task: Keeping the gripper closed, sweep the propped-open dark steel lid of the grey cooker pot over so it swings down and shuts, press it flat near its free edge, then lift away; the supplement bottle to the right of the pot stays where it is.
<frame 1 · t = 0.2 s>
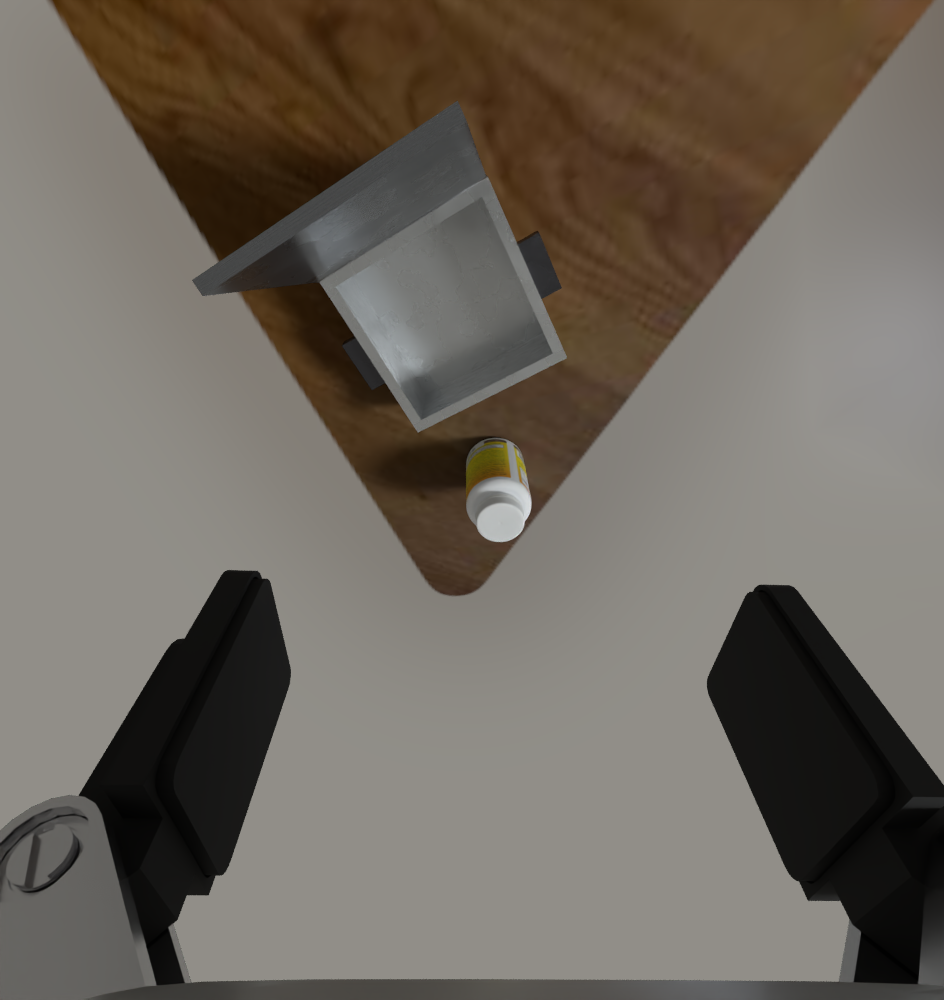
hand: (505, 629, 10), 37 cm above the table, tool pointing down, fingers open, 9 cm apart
lid: (363, 212, 27), point 13 cm above the table, hinge at 100.0°
supplement bottle: (494, 459, 51), on the table
cooker pot: (450, 301, 42), on the table
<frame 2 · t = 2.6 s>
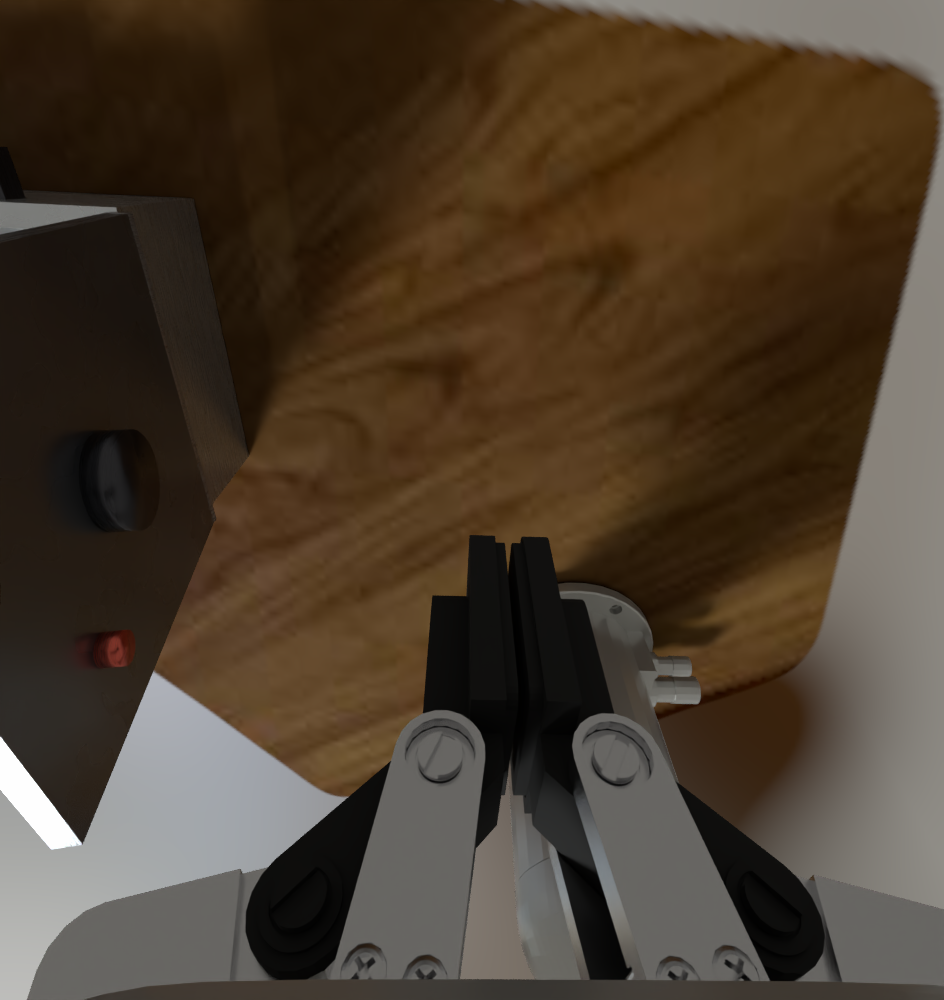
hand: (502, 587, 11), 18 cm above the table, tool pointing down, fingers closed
lid: (113, 476, 15), point 13 cm above the table, hinge at 100.0°
cooker pot: (96, 338, 26), on the table
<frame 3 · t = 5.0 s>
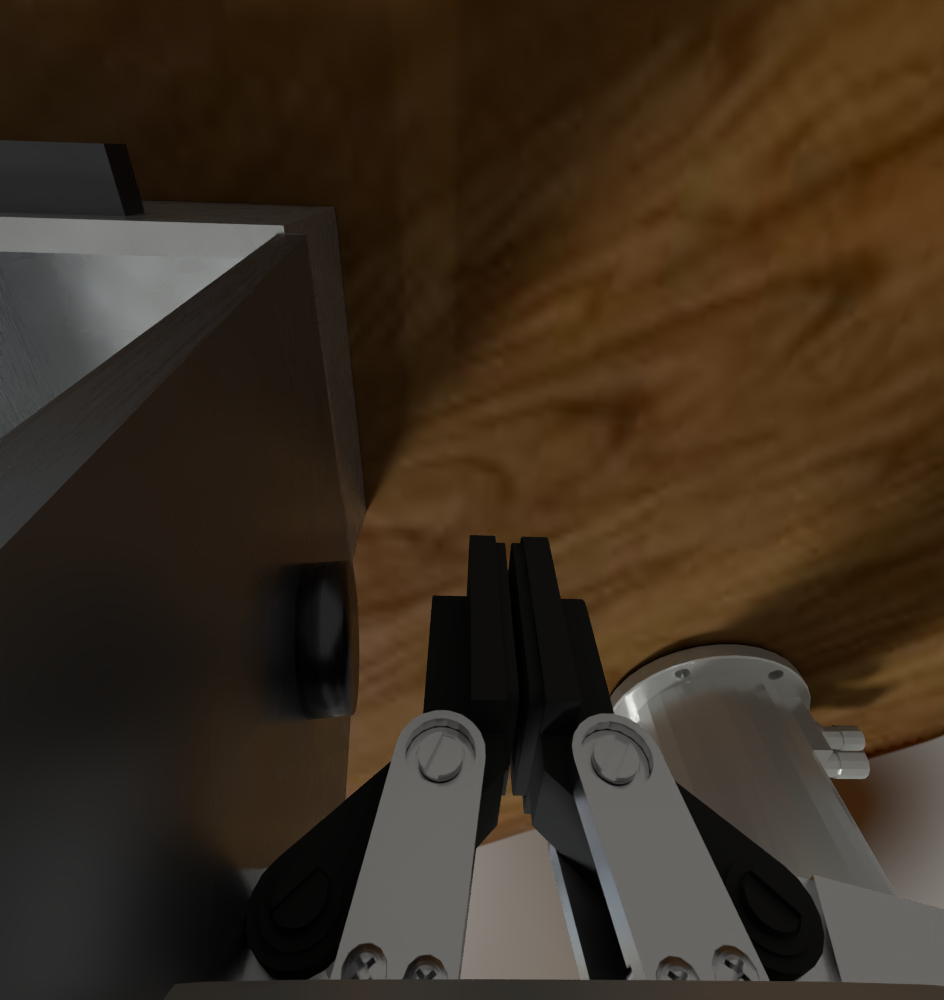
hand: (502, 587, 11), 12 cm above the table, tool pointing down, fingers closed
lid: (313, 627, 11), point 13 cm above the table, hinge at 97.7°, touching gripper
cooker pot: (196, 380, 22), on the table
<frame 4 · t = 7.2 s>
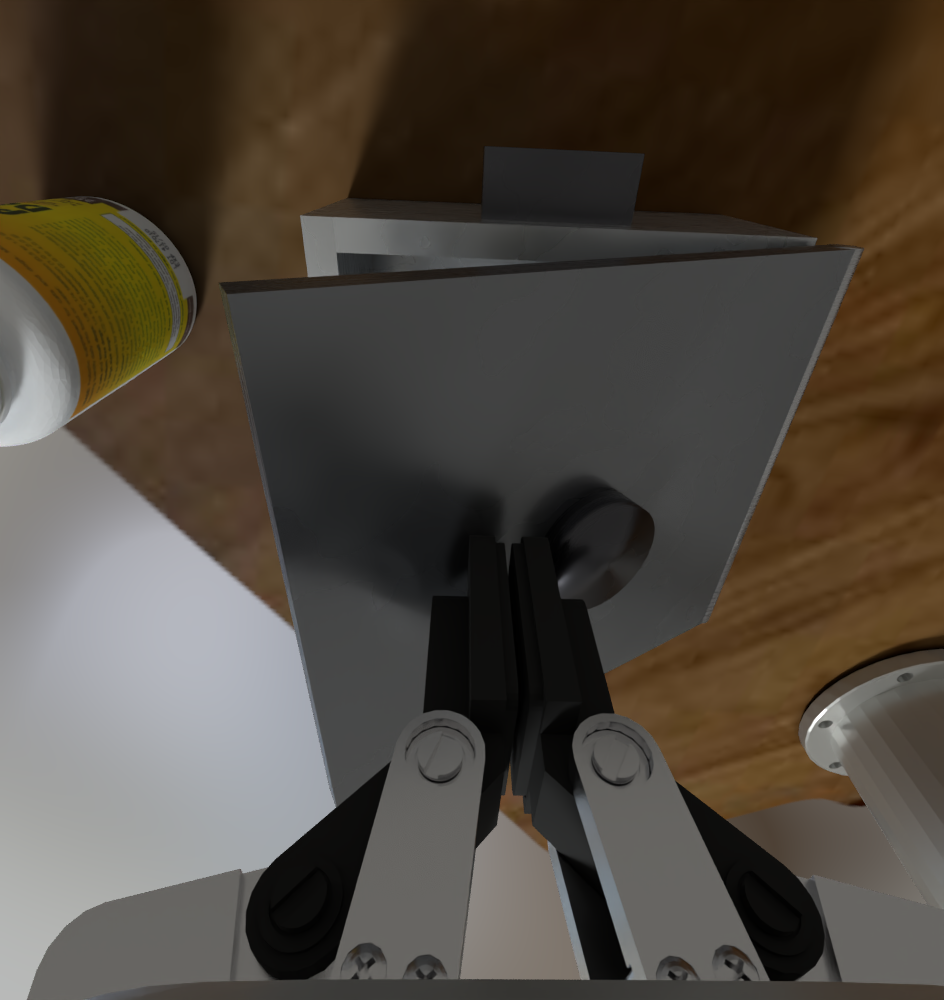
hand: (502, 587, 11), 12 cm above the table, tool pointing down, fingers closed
lid: (595, 539, 13), point 10 cm above the table, hinge at 29.3°, touching gripper
supplement bottle: (127, 279, 19), on the table
cooker pot: (519, 385, 22), on the table
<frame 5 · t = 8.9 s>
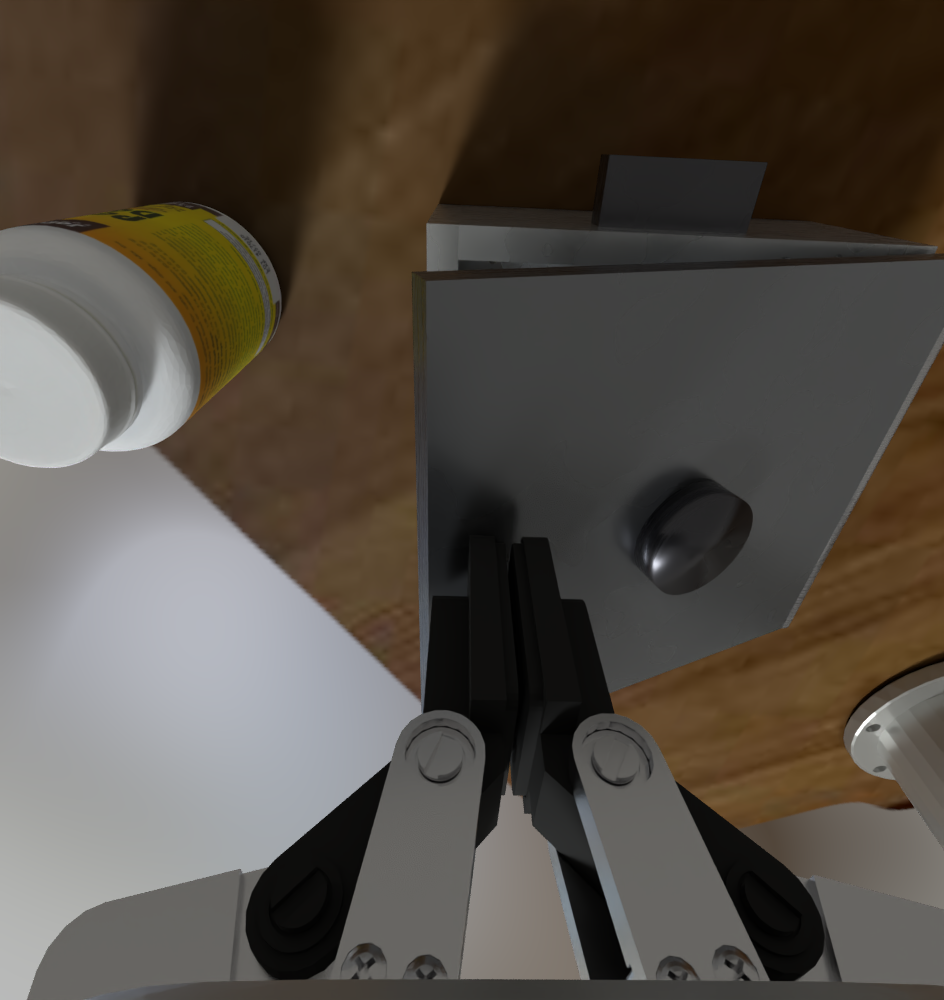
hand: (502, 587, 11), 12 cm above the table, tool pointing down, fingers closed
lid: (691, 528, 14), point 10 cm above the table, hinge at 22.6°, touching gripper
supplement bottle: (212, 284, 19), on the table
cooker pot: (593, 389, 22), on the table
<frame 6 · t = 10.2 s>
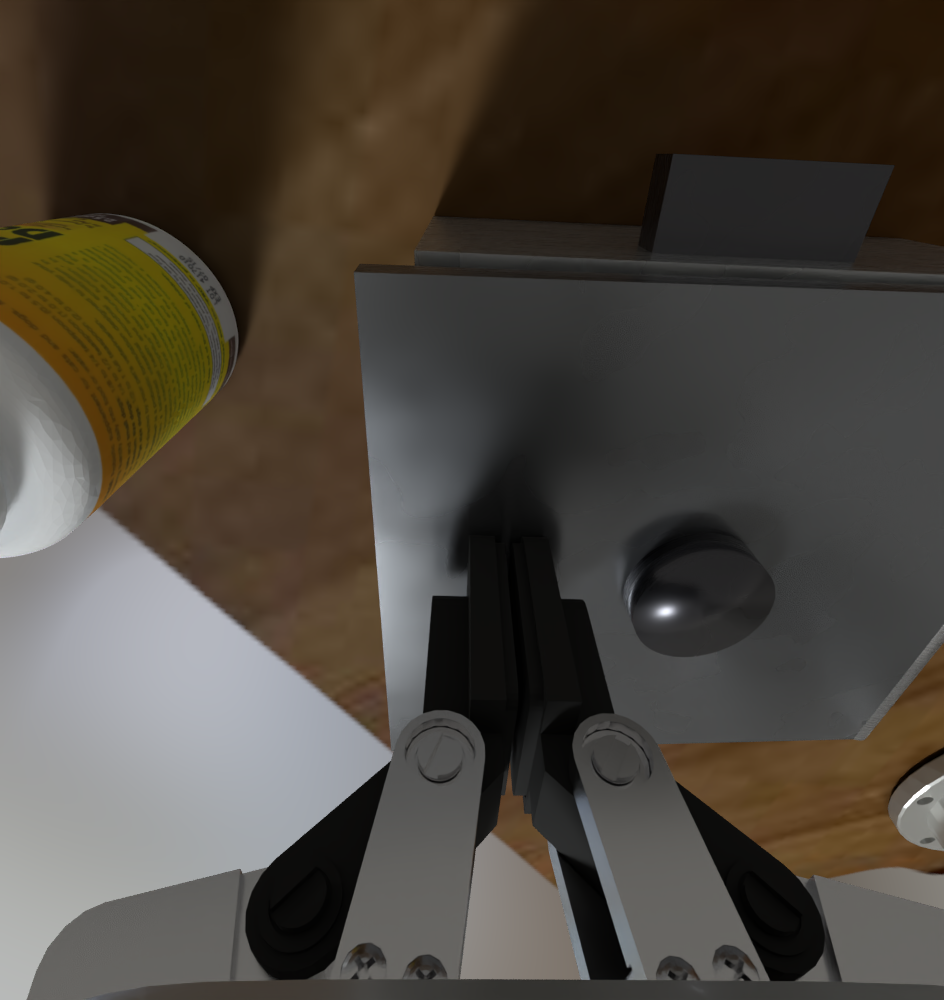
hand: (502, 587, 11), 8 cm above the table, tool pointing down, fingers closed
lid: (702, 586, 12), point 7 cm above the table, hinge at 2.6°, touching gripper
supplement bottle: (152, 314, 16), on the table
cooker pot: (622, 439, 18), on the table
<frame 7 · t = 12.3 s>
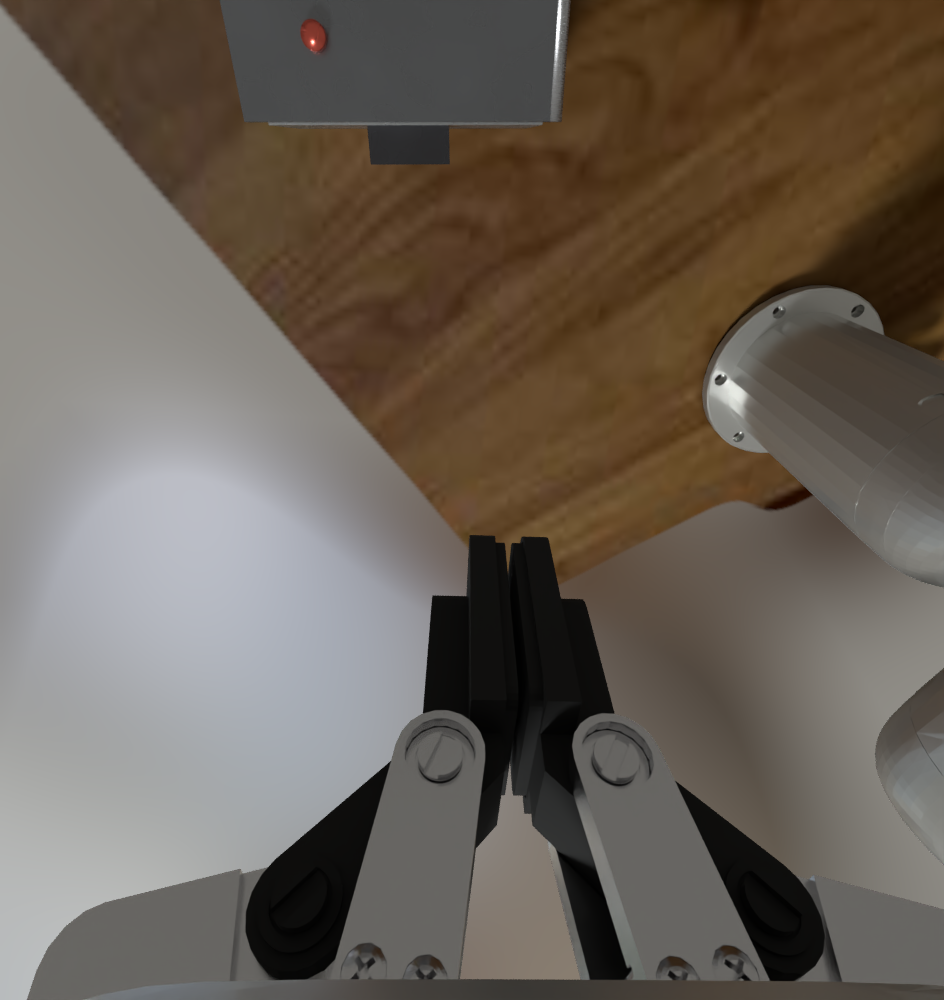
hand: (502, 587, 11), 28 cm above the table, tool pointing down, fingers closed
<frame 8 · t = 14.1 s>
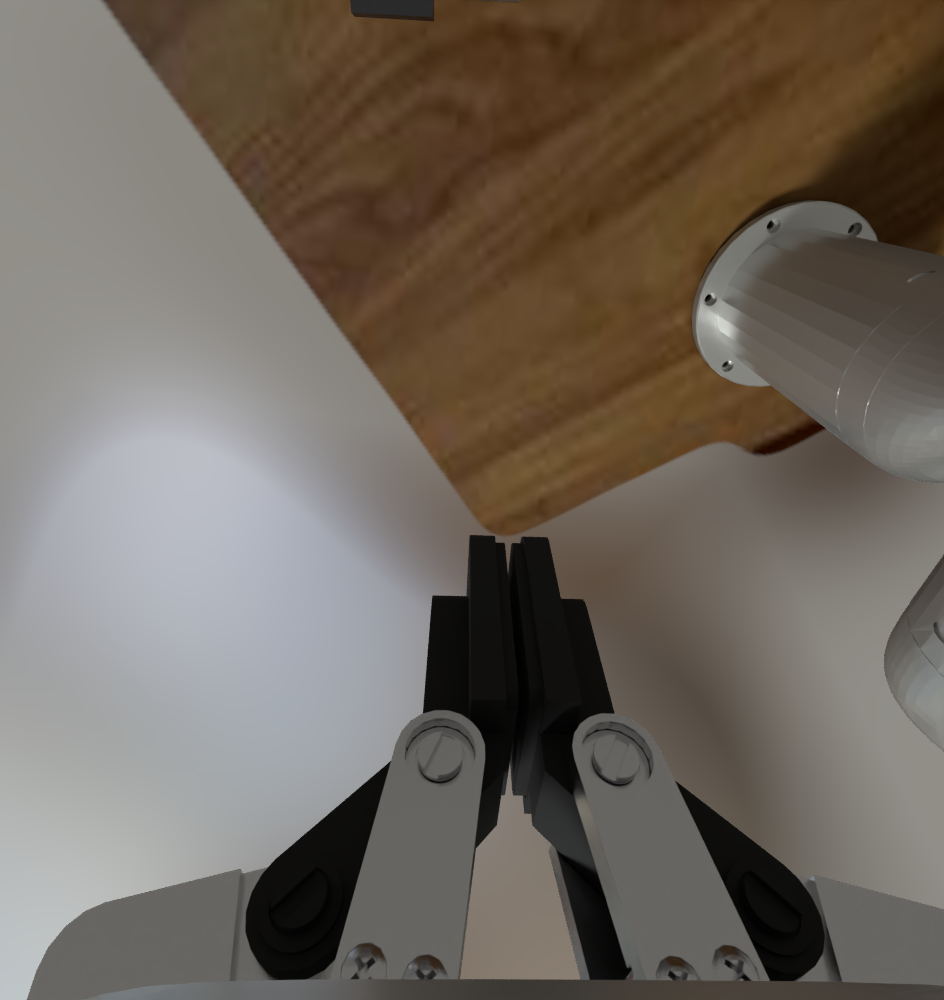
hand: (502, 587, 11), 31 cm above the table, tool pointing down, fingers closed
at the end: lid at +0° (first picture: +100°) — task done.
